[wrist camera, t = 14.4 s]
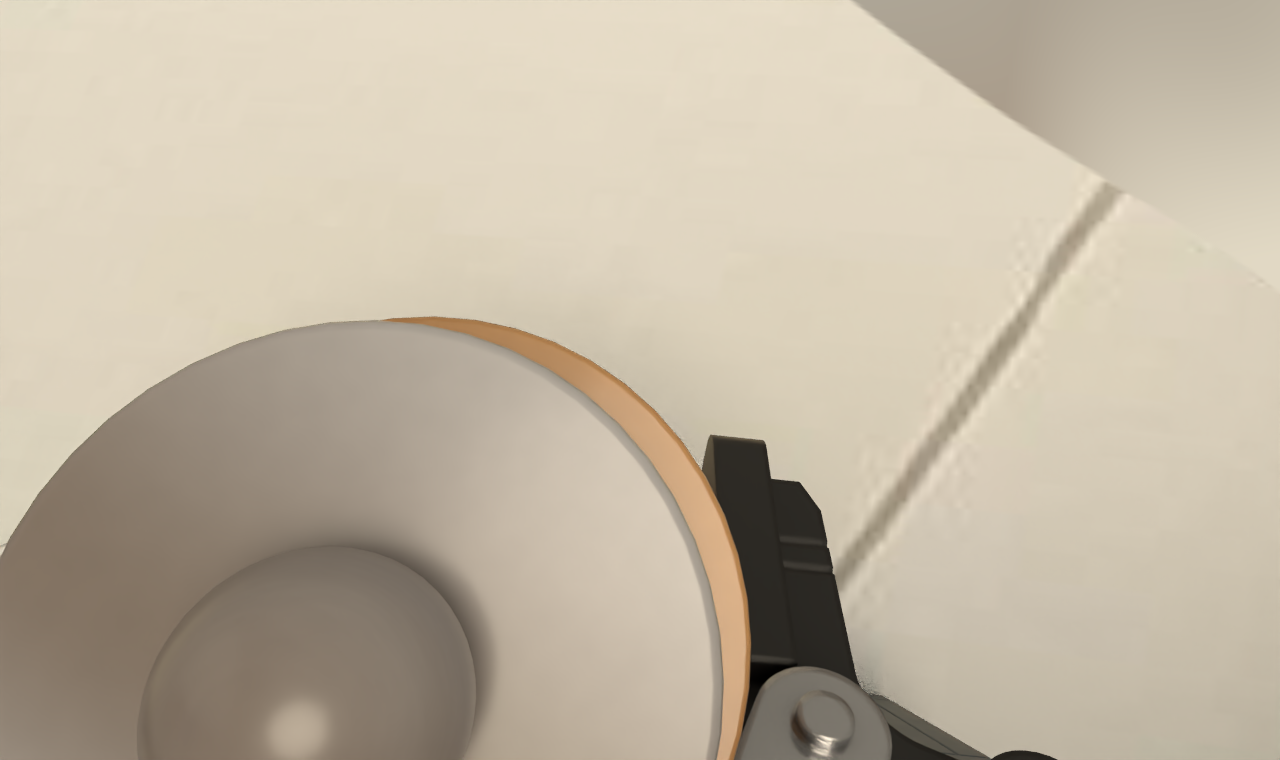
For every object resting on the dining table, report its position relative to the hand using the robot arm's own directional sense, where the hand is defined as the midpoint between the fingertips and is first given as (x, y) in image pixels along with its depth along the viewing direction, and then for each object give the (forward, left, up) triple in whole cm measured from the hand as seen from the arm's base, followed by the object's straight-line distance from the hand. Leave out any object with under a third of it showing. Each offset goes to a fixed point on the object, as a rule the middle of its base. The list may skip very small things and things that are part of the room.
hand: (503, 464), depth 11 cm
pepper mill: (+2, +1, -6) cm, 6 cm away
